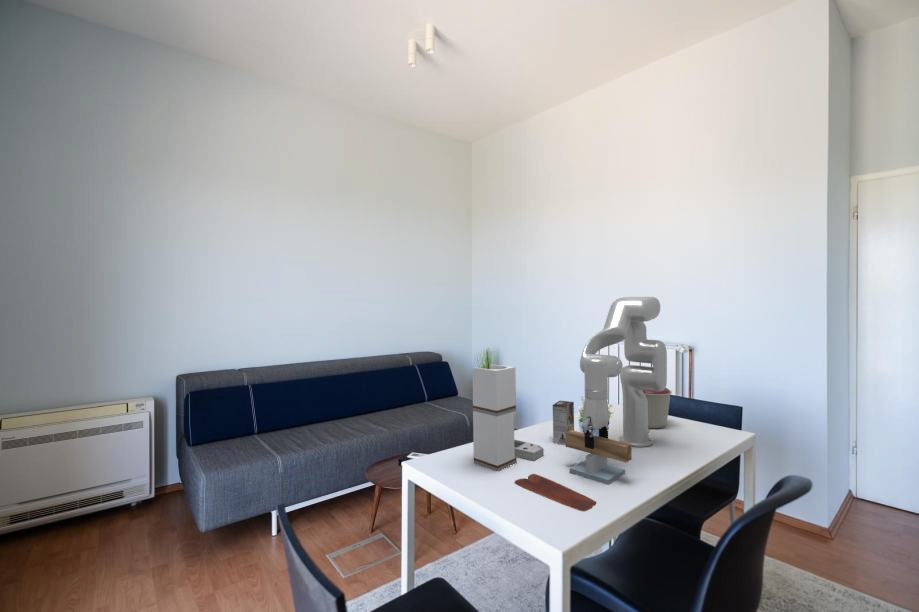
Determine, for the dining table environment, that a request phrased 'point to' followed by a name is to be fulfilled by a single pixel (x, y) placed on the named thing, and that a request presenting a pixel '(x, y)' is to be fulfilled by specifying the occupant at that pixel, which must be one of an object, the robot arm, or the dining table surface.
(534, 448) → the handheld gaming device
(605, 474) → the ridge stand
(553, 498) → the wooden tablet
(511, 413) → the tall square planter
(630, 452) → the walnut batten
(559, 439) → the coffee box
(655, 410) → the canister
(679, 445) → the dining table surface
